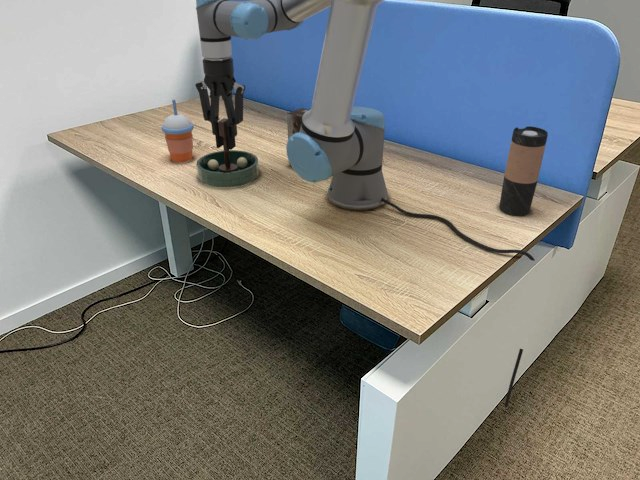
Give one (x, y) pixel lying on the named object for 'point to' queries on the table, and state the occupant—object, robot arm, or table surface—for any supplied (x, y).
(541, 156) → the travel mug
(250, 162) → the bowl
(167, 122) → the cup with straw
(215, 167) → the dumpling
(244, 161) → the dumpling
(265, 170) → the table surface
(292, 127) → the coffee box
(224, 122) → the brown handled stamp
